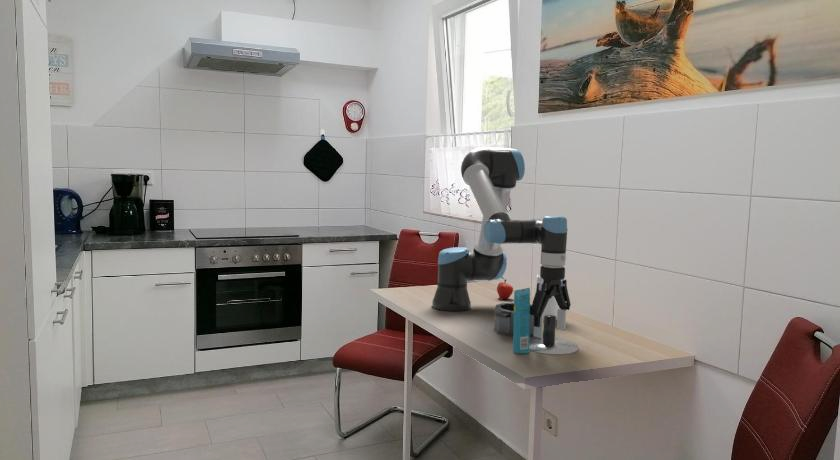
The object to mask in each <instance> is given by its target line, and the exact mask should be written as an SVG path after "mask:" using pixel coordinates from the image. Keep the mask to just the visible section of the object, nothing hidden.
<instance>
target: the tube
mask: <svg viewBox="0 0 840 460" xmlns="http://www.w3.org/2000/svg"><path fill="white" fill-rule="evenodd" d="M513 292H514V293H513V294H514V298H513V303H514V330H513V336H512V338H513V339H512V352H513V353H515V354H528V353H529V352H530V351H529V335H530V304H531V289H530V287H526V288H521V289H515V290H513Z"/></svg>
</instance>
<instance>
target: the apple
mask: <svg viewBox="0 0 840 460" xmlns="http://www.w3.org/2000/svg"><path fill="white" fill-rule="evenodd" d="M500 279H502V280H504V282H501V281H500V282H499V283H498V285H497V287H496V292H497V294H498V297H499V298H500V299H501V298H503V299H502V300H507V298H508V299H509V298H510V297H511V296H512V294H513V292H514V287H513V286H512V285H511V284H509V283H507V282H506V281H507V279H506V278H504V277H503V276H502V277H501V278H500Z"/></svg>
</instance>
